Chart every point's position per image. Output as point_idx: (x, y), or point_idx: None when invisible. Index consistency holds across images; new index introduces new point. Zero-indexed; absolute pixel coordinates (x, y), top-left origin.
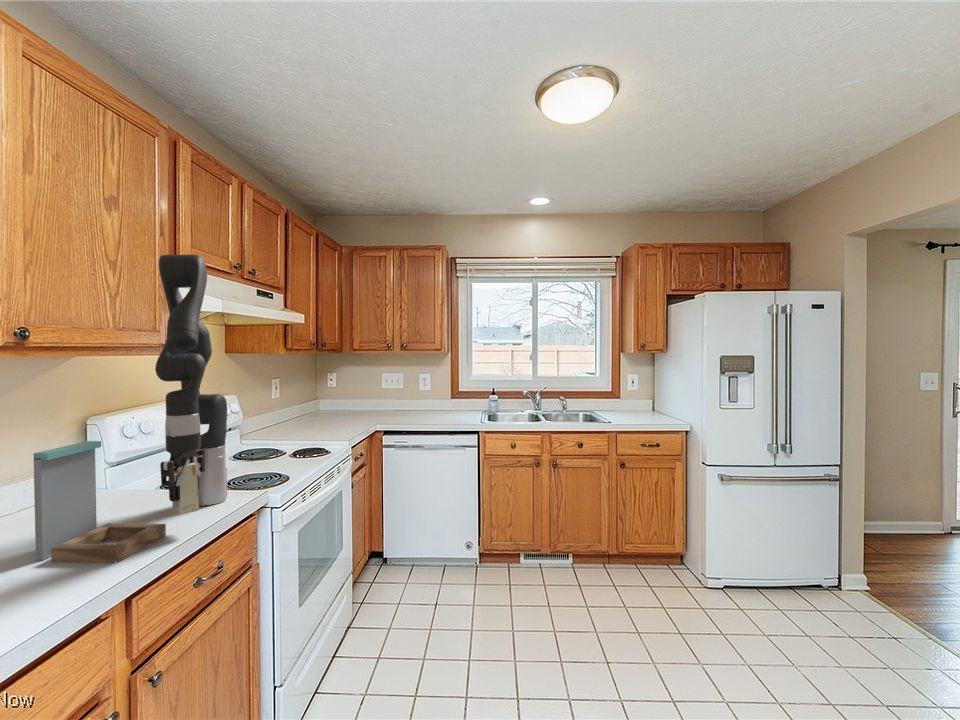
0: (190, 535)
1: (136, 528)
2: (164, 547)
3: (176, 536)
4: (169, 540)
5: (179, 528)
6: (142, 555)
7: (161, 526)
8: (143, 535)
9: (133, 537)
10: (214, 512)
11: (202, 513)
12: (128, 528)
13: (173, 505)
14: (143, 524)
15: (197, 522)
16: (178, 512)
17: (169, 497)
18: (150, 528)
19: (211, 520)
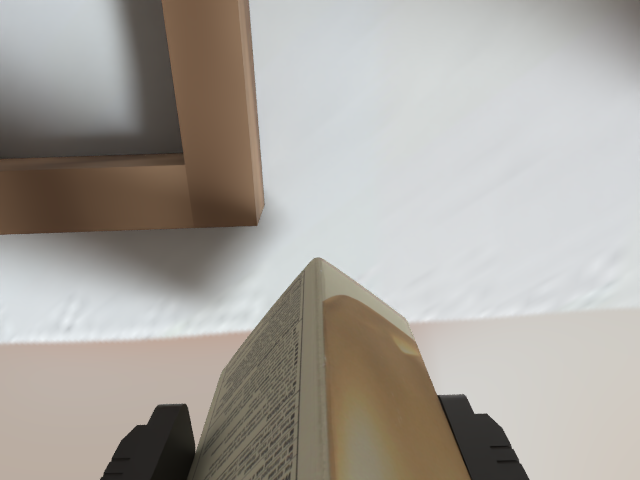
0: None
1: (175, 76)
2: (134, 299)
3: (261, 264)
4: (210, 265)
5: (368, 204)
6: (35, 267)
7: (220, 226)
8: (70, 231)
9: (25, 200)
10: (616, 232)
11: (612, 172)
12: (165, 13)
13: (293, 297)
14: (229, 83)
15: (456, 240)
16: (234, 358)
17: (120, 444)
18: (172, 190)
19: (481, 292)
